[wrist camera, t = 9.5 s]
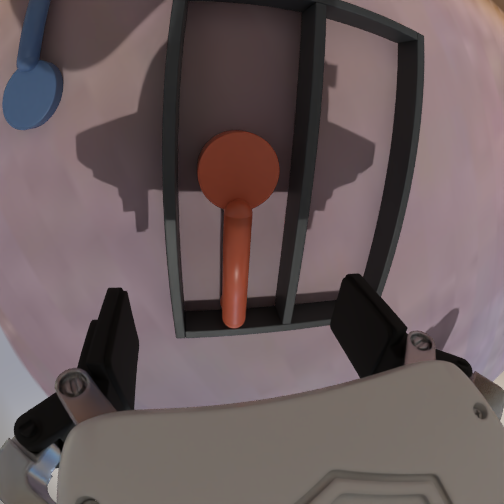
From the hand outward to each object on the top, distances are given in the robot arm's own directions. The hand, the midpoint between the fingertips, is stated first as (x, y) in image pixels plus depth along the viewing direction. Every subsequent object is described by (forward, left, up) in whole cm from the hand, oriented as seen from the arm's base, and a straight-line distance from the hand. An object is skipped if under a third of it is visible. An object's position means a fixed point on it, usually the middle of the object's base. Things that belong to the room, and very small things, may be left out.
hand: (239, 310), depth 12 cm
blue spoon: (-11, +13, -7) cm, 19 cm away
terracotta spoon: (0, +1, -6) cm, 6 cm away
